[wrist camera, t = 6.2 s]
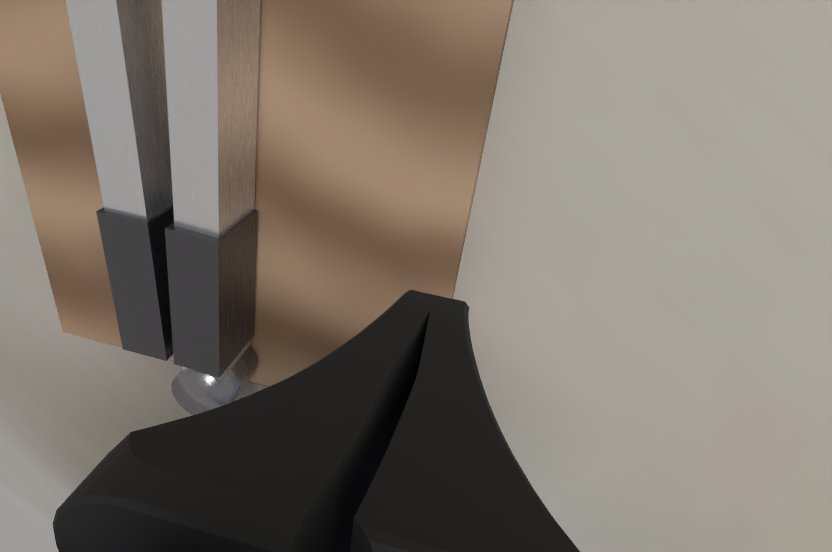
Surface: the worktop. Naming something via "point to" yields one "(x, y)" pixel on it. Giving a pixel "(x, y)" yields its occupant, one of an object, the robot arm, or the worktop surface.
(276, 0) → the board
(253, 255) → the bar
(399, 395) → the robot arm
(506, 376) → the worktop surface
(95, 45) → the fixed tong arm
